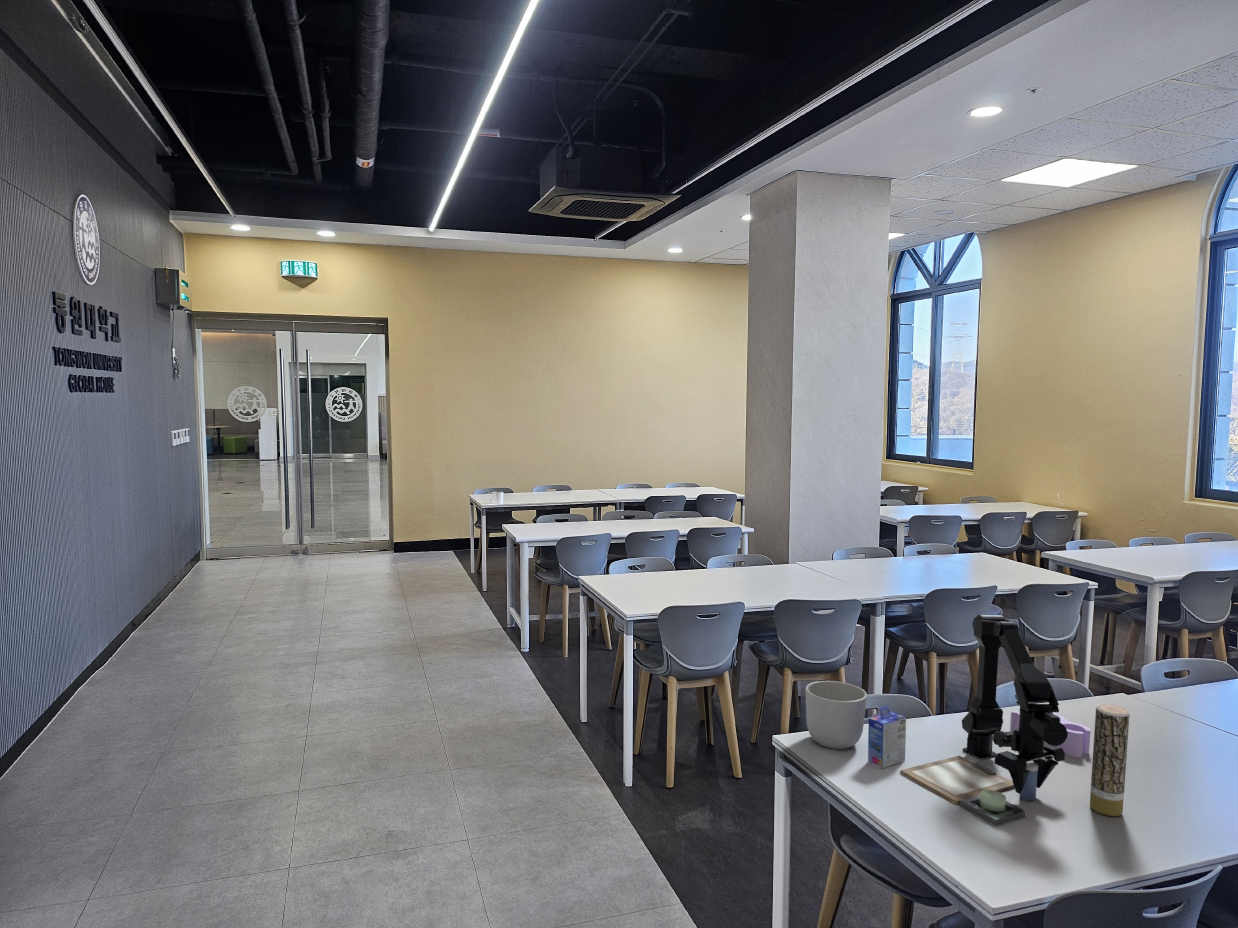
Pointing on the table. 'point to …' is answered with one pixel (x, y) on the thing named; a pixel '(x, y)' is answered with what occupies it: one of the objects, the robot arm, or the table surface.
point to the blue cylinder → (1030, 782)
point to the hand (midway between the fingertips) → (1027, 789)
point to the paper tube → (1109, 759)
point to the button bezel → (996, 820)
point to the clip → (1075, 740)
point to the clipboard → (957, 778)
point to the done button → (992, 800)
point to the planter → (835, 713)
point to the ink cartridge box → (886, 738)
